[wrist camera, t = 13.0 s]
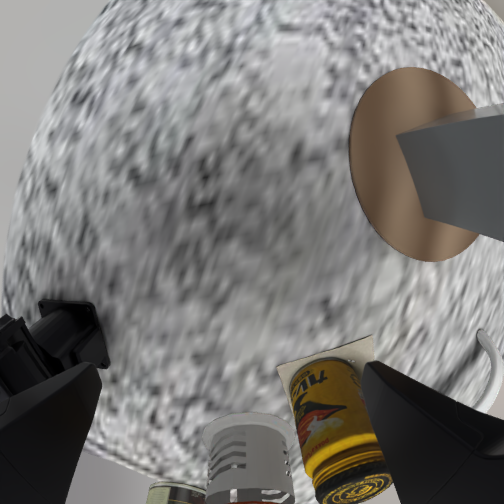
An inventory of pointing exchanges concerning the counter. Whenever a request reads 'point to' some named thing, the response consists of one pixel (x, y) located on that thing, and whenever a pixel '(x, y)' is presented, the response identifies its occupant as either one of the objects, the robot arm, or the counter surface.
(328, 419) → the condiment
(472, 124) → the grey tall block
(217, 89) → the counter surface
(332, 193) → the counter surface
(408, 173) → the plate
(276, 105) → the counter surface
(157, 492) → the coffee can
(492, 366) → the white curved piece
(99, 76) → the counter surface
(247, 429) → the french press
